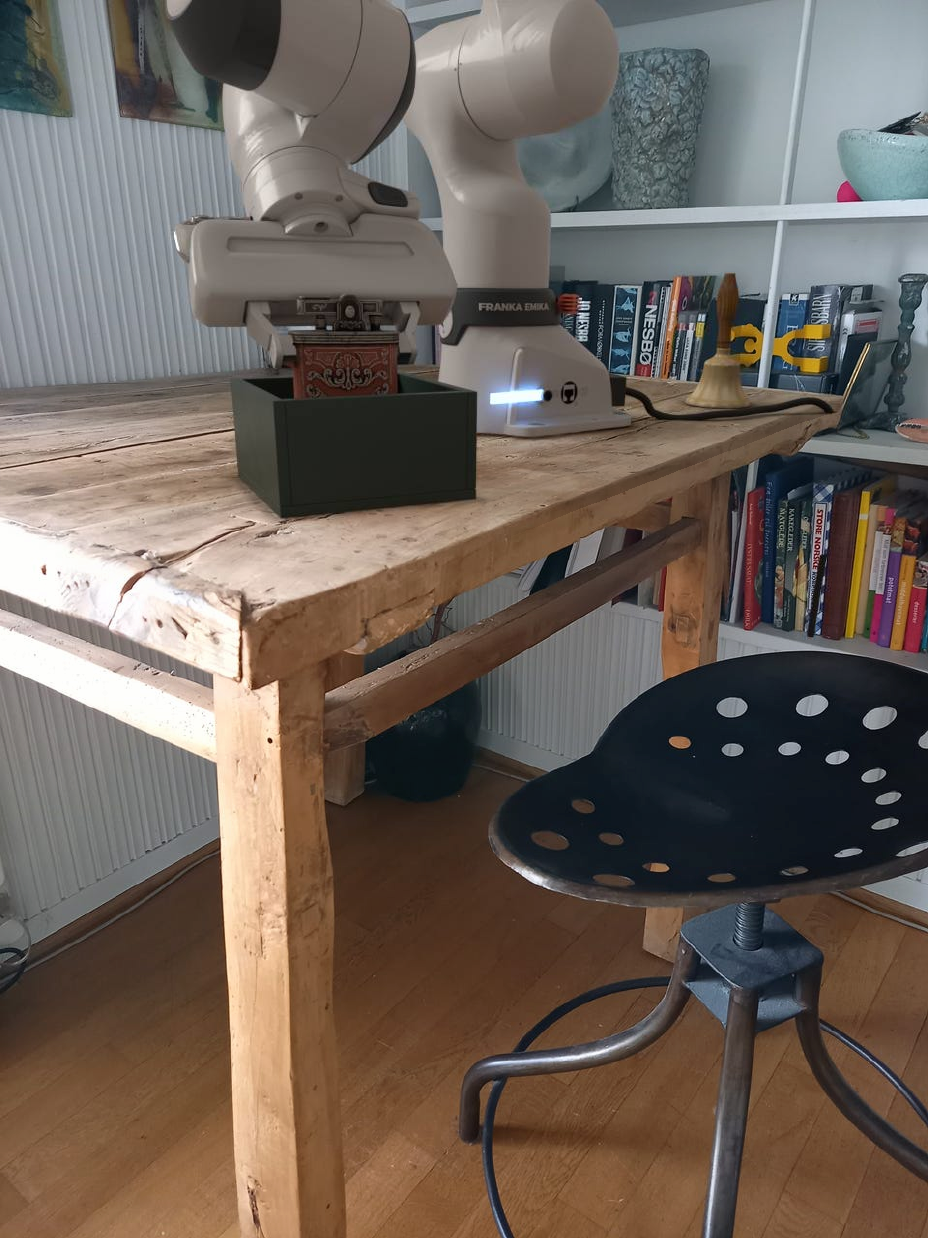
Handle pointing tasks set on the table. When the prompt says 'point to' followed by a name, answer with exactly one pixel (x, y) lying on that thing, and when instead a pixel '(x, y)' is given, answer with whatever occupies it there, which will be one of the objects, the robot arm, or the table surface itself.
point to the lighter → (344, 350)
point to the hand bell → (722, 358)
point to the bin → (355, 446)
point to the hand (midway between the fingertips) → (348, 361)
